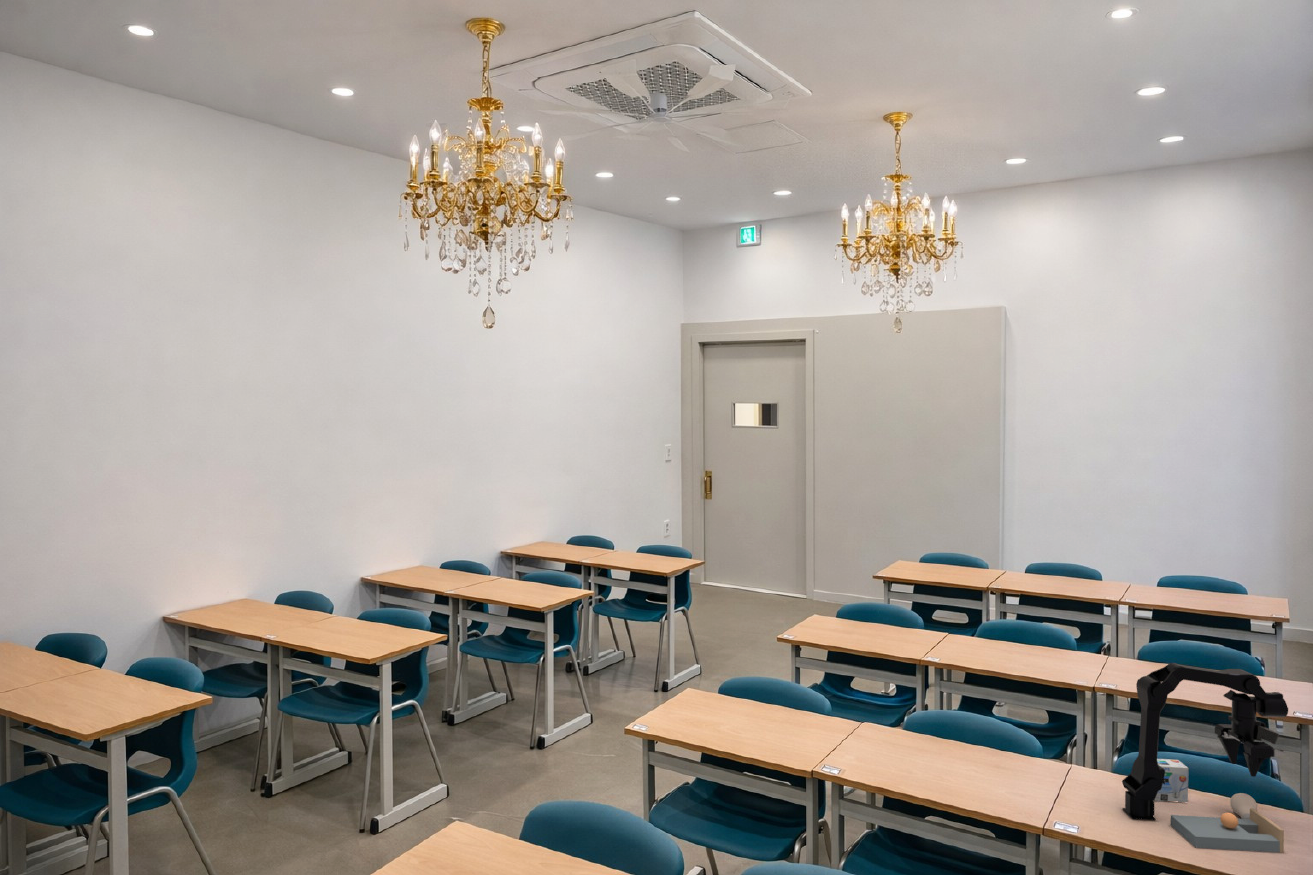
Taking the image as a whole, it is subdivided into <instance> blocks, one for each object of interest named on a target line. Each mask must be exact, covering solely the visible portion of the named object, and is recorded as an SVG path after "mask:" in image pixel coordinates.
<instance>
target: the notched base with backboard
mask: <svg viewBox="0 0 1313 875" xmlns="http://www.w3.org/2000/svg"><path fill="white" fill-rule="evenodd" d="M1220 818H1221V816H1220V817H1218V816H1217V817H1215V816H1202V815H1201V816H1200V815H1199V816H1198V815H1197V816H1196V815H1179V814H1170V820H1169V821H1170V826H1171V828H1173V829H1174V830H1175V831H1176V832H1177V833H1178V834H1179V835H1180V836H1182V837H1183V838H1184V839H1185V840H1187V842H1189V844H1191V845H1192V846H1193V847H1194V848H1196V849H1211V850H1225V851H1226V850H1228V851H1242V852H1244V851H1245V852H1263V853H1279V854H1284V852H1285V830H1284V829H1283V828H1282V827H1281V826H1279V825H1278V824H1276V823H1275V822H1273V821H1272V820H1270V819H1269V818H1267V817H1266V816H1265V815H1264V814H1262V813H1260V812H1259V811H1258V810H1257V811H1256V810H1255V809H1253V808H1250V819H1242V818H1237V817H1236V818H1237V819H1238V826H1237V827H1236V828H1233V829H1229V828H1227V827H1225V826H1224V825H1223V824H1222V823H1221V819H1220Z"/></svg>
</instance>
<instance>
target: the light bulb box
mask: <svg viewBox="0 0 1313 875" xmlns="http://www.w3.org/2000/svg"><path fill="white" fill-rule="evenodd" d="M1157 762H1158V765H1159V766H1161V767H1162V768H1163V769H1164V770H1165V775H1164V782H1165V784H1163V783H1162V788H1161V790H1159V791H1158V793H1157V795H1156V798H1155V800H1154V802H1163V801H1178V802H1188V803H1189V800H1188V799H1189V797H1188V796H1189V769H1190V768H1189V767H1188V766H1186V765H1185V763H1183V762H1182V761H1180V760H1179V759H1168V758H1157Z"/></svg>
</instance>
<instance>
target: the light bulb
mask: <svg viewBox="0 0 1313 875" xmlns="http://www.w3.org/2000/svg"><path fill="white" fill-rule="evenodd" d="M1229 803H1230V804H1229V806H1230V807H1231V809H1232V811H1233V813H1235V814H1236V815H1237V816H1239V817H1240V819H1250V808H1253V809H1255V810H1256V811H1258V804H1257V802H1256V800H1255V799H1254V798H1253V797H1252V796H1251V795H1249V794H1247V793H1243V792H1242V793H1241V792H1239V793H1235V794H1233V795H1232V796H1231V798H1230V802H1229Z"/></svg>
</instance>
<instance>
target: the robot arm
mask: <svg viewBox="0 0 1313 875" xmlns="http://www.w3.org/2000/svg"><path fill="white" fill-rule="evenodd" d="M1183 681H1190V682H1195V683H1202V684H1203V683H1204V684H1210V685H1215V686H1221V687H1222V686H1223V687H1224V688H1225V687H1226V688H1229V689H1230V690H1229V691H1228V692H1226V693H1224V694H1223V697H1224V698H1226V699H1228V700H1230V701H1231V715H1228V717H1227V719H1228V720H1229V721H1230V722H1231V724H1229V723H1228V724H1227V723H1225V724H1224V723H1217V724H1216V725H1215V726H1214V734H1215V735H1217V738H1218V739H1219V741H1220V744H1222V747H1223V749H1224V751H1225V754H1226V755H1227V757H1228V760H1229V761H1230V763H1231V764H1232V765H1236V764H1237V761H1238V753H1239V746H1240V745H1241V744H1243V750H1244V751H1243V752H1242V753H1243V756H1244V759H1245V761H1246V766H1247V768H1248V772H1249V774H1250V776H1251V777H1255V778H1256V776H1257V773H1259V770H1260V768H1261V765H1262V764H1263V761H1265V760H1266V759H1271V758H1274V757H1275V756H1276V754H1275V753H1276V749H1275V748H1274V747H1273V746H1271V745H1270V744H1268V743H1267V742H1270V743H1271V744H1272V745H1276V744H1277V741H1278V739H1279V736H1280V734H1279V733H1278V732H1276V731H1275V730H1272V729H1271V728H1268V727H1267V726H1266V723H1264V722H1262V721H1260V720H1257V714H1258V715H1259V716H1261V717H1267V718H1268V717H1269V718H1286V717H1287V716H1288V714H1289V707H1288V705H1287V704H1288V703H1287V702H1286V700H1285V699H1284V694H1282V692H1279V691H1273V692H1266V691H1265V690H1264V688H1263V687H1262V686H1261V681H1260V679H1259V678H1258V677H1257V676H1256V675H1255V674H1253V673H1250V672H1248V671H1246V670H1244V669H1241V668H1227V669H1219V670H1218V669H1211V668H1204V667H1198V666H1191V665H1185V664H1178V663H1176V662H1170V663H1168V664H1167V665H1165V666H1163V667H1162V668H1158V669H1157V670H1154V671H1151V672H1150V673H1149V674H1147V675H1144V676H1141V677H1140V678H1139V679H1137V680H1136V694H1137V698H1138V701H1139V703H1140V707H1141V708H1140V709H1141V711H1140V726H1139V728H1140V729H1139V742H1138V743H1139V744H1138V755H1137V757H1136V758H1135V760H1134V762H1133V764H1132V767H1131V772H1130V773H1129V774H1128V775H1127V776H1126V777H1125V778H1123V779H1122V781H1121V783H1122V786H1123V787H1124V788H1125V789H1126V790H1125V792H1124V794H1125V795H1124V797H1125V799H1124V802H1125V803H1124V807H1122V809H1121V810H1122V811H1123V812H1124V813H1125V814H1126V815H1127V816H1128V817H1129V818H1131V819H1132V820H1138V821H1139V820H1141V821H1156V820H1157V819H1156V817H1154V816H1155V801H1154V800H1155V798H1156V795H1157V793H1158V791H1159V790H1161V788H1162V783H1163V784H1165V782H1164V775H1165V770H1164V769H1163V768H1162V767H1161V766H1159V765H1158V762H1157V759H1158V751H1159V737H1160V736H1159V735H1160V734H1159V733H1160V722H1161V721H1160V720H1161V711H1162V710H1163V709H1164V707H1165V705H1166V704H1167V699H1168V696H1169V694H1171V693H1172V692H1174V691H1175V690H1176V688H1177V687H1178V686H1179V684H1180V683H1181V682H1183ZM1236 691H1237V692H1236ZM1251 695H1252V696H1251ZM1262 740H1264V741H1262ZM1265 741H1267V742H1265ZM1124 788H1123V789H1124Z"/></svg>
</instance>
